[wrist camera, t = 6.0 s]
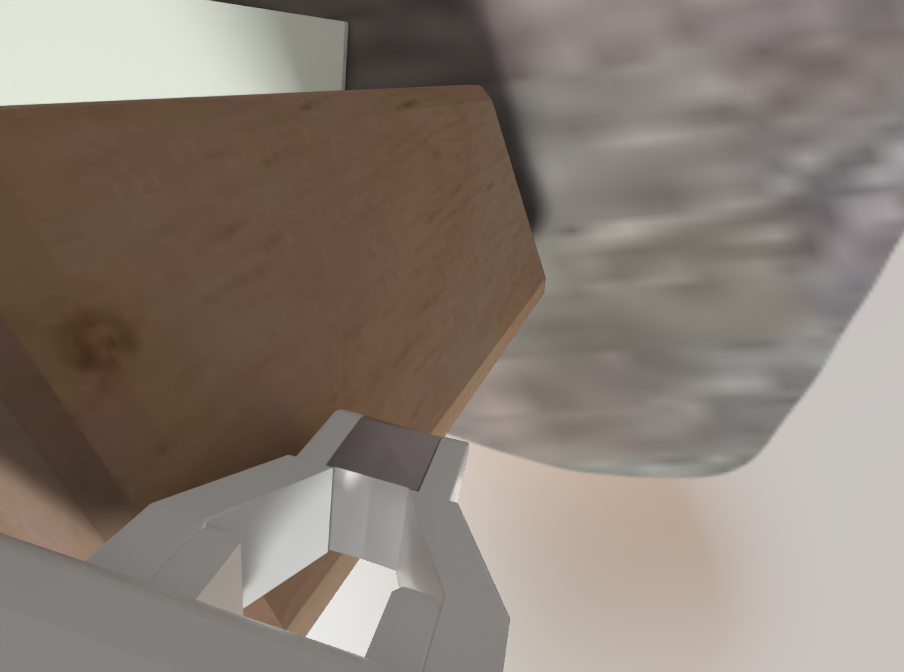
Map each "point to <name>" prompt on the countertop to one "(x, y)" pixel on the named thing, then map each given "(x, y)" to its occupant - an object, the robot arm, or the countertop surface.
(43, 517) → the wooden block
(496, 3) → the countertop surface
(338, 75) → the mat
